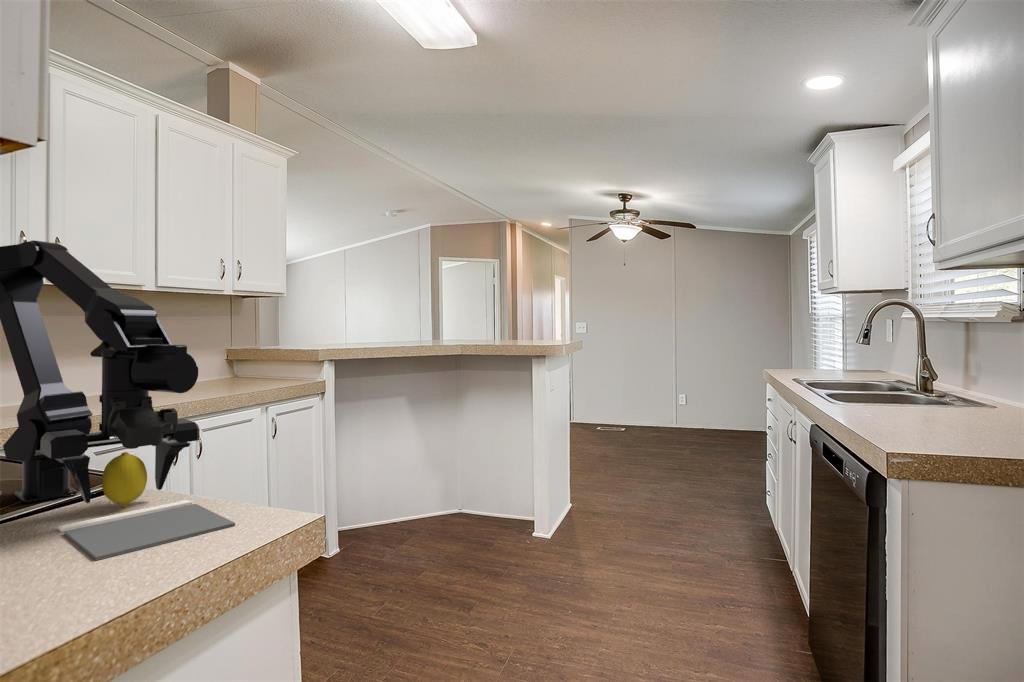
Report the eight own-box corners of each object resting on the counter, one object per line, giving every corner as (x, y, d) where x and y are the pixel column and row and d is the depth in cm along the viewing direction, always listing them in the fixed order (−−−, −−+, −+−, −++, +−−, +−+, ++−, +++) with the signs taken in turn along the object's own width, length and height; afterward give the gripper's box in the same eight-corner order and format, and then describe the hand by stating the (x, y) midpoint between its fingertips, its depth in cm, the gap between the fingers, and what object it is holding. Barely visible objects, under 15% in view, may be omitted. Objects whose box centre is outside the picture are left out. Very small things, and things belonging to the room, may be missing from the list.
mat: (64, 534, 75) (64, 531, 75) (195, 506, 88) (195, 503, 88) (96, 560, 68) (96, 557, 68) (235, 525, 80) (235, 522, 80)
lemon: (124, 514, 83) (125, 457, 83) (91, 510, 85) (92, 454, 84) (155, 502, 89) (156, 449, 89) (124, 499, 90) (124, 447, 90)
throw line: (57, 529, 77) (57, 526, 77) (187, 502, 89) (187, 499, 89) (61, 531, 76) (61, 528, 76) (192, 504, 89) (192, 501, 89)
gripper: (64, 400, 74) (63, 524, 74) (216, 389, 88) (215, 493, 89) (39, 391, 81) (38, 505, 81) (184, 383, 95) (183, 479, 96)
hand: (124, 495), depth 87 cm, fingers open, 9 cm apart
